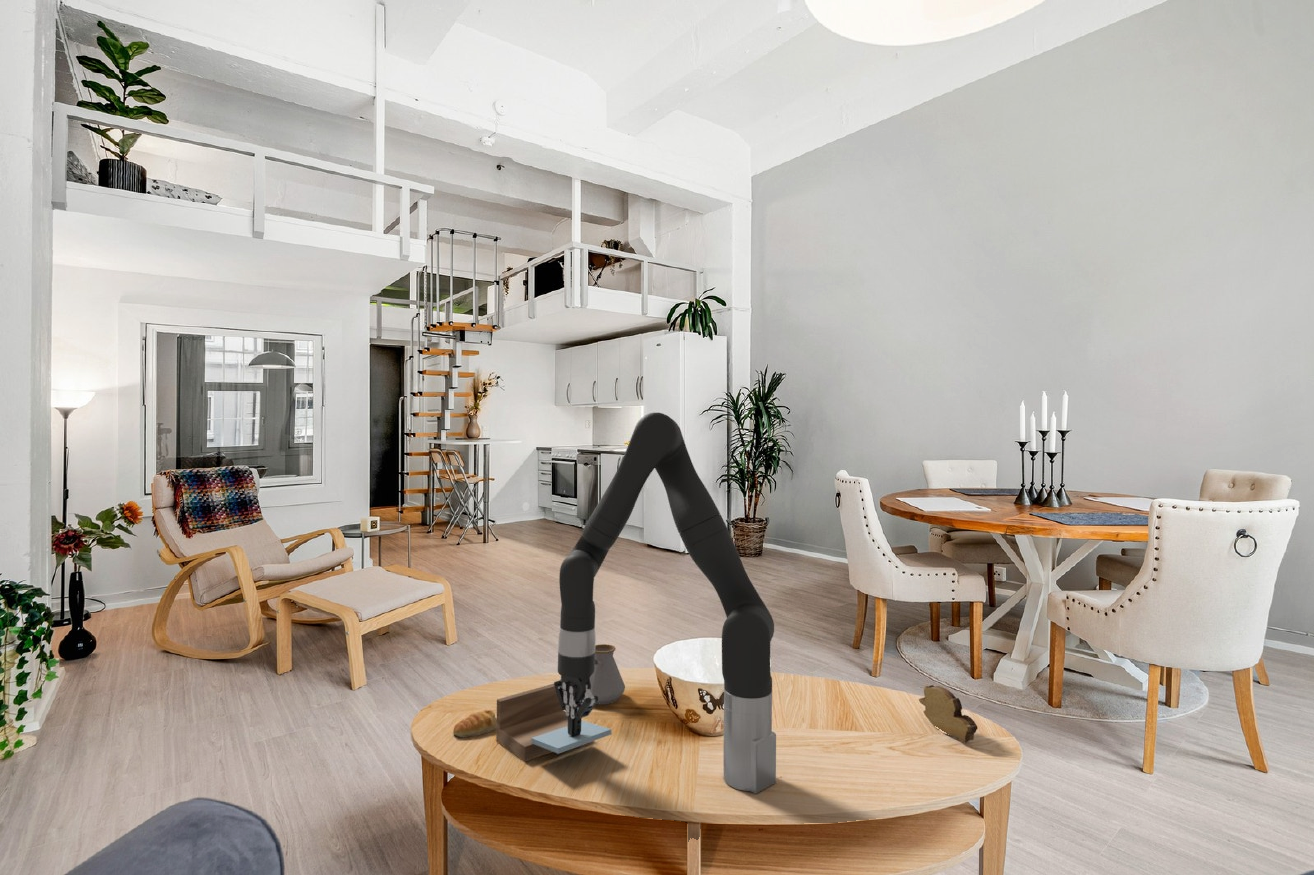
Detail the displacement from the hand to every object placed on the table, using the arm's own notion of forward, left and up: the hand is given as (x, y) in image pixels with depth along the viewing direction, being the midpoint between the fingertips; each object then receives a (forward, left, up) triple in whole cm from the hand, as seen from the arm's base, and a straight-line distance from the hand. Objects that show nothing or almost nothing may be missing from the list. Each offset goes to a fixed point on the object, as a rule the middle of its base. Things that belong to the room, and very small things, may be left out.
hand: (574, 734), depth 131 cm
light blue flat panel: (+6, 0, -2) cm, 6 cm away
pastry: (+26, +8, -6) cm, 28 cm away
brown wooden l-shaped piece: (+12, 0, -5) cm, 13 cm away
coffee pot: (+19, -20, -6) cm, 28 cm away
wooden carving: (-44, -72, -6) cm, 84 cm away
